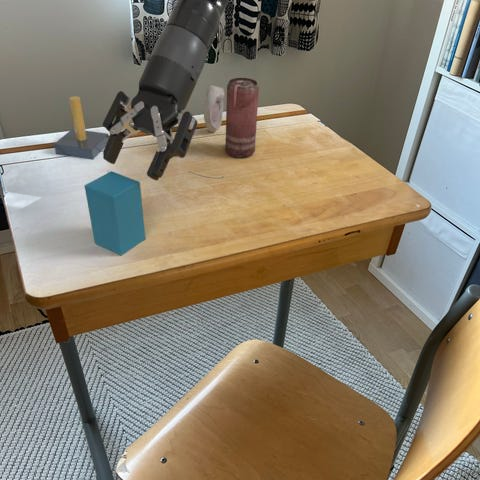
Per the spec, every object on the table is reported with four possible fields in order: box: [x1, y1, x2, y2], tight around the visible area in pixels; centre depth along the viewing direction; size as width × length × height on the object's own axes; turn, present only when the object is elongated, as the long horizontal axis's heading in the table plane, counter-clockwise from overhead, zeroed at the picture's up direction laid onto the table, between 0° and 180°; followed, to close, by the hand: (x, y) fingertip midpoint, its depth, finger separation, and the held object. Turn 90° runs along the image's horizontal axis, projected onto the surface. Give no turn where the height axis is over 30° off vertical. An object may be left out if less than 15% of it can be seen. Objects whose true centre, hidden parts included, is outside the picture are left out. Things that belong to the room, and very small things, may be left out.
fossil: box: [203, 84, 226, 133], centre depth 110 cm, size 6×4×10 cm, turn 147°
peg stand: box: [53, 95, 110, 160], centre depth 101 cm, size 8×8×10 cm
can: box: [224, 77, 260, 159], centre depth 101 cm, size 6×6×14 cm
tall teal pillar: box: [84, 170, 146, 256], centre depth 78 cm, size 6×6×10 cm
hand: (129, 169), depth 76 cm, fingers open, 8 cm apart
